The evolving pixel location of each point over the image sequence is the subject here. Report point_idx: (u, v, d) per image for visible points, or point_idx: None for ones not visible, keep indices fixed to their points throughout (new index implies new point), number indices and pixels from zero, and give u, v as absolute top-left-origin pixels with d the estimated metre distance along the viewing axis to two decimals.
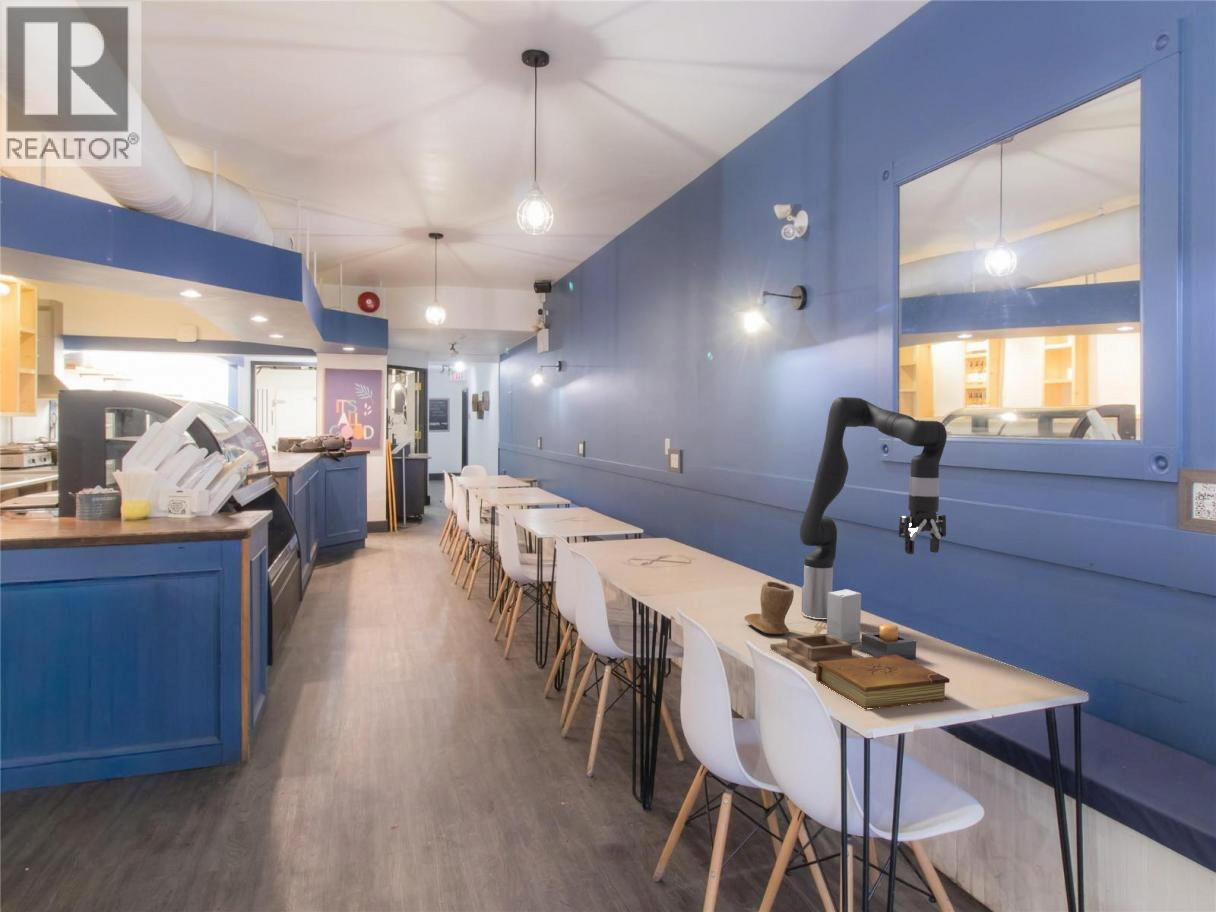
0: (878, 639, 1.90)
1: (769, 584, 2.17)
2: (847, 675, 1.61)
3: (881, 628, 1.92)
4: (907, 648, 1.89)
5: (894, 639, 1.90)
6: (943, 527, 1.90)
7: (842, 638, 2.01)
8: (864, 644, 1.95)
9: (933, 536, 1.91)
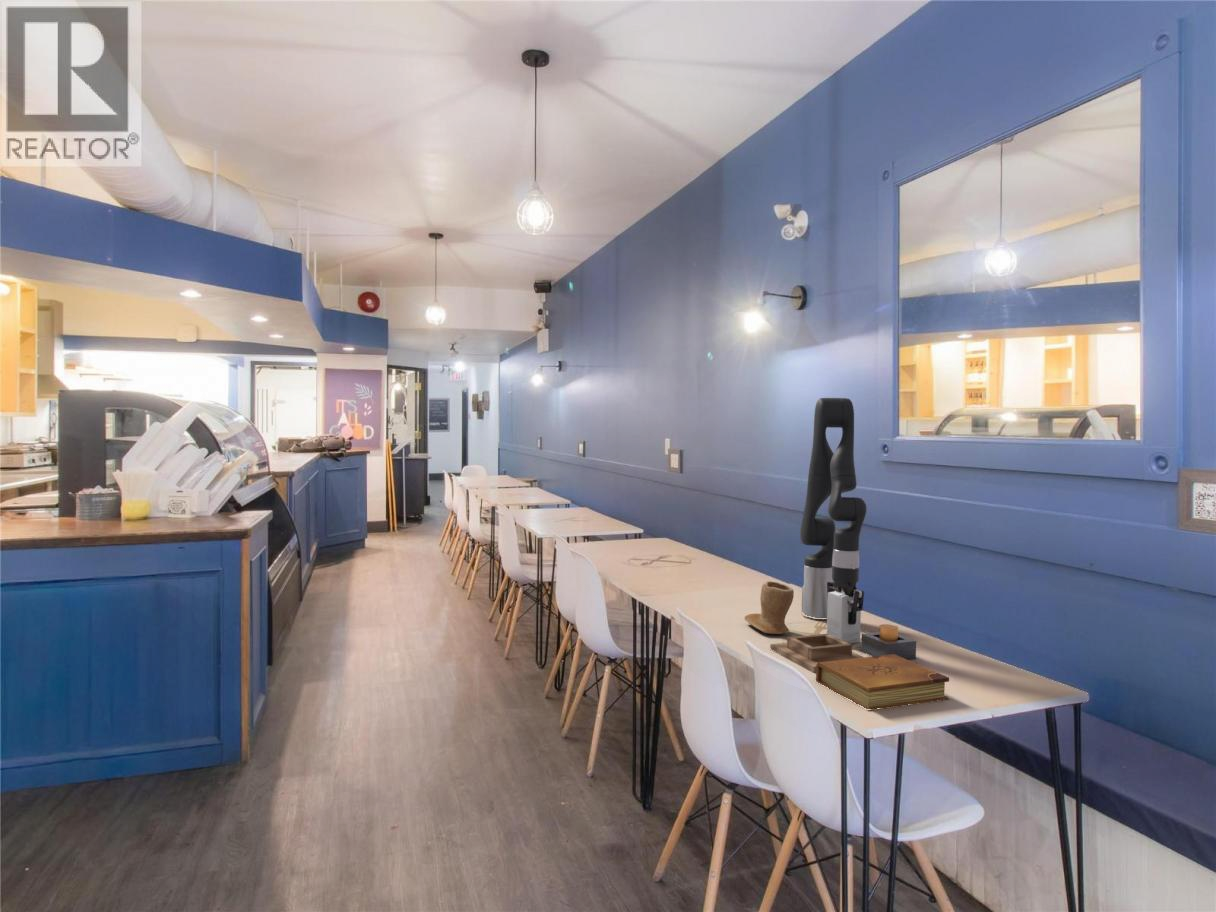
0: (878, 639, 1.90)
1: (769, 584, 2.17)
2: (849, 676, 1.61)
3: (881, 628, 1.92)
4: (907, 648, 1.89)
5: (894, 639, 1.90)
6: None
7: (842, 638, 2.01)
8: (864, 644, 1.95)
9: None
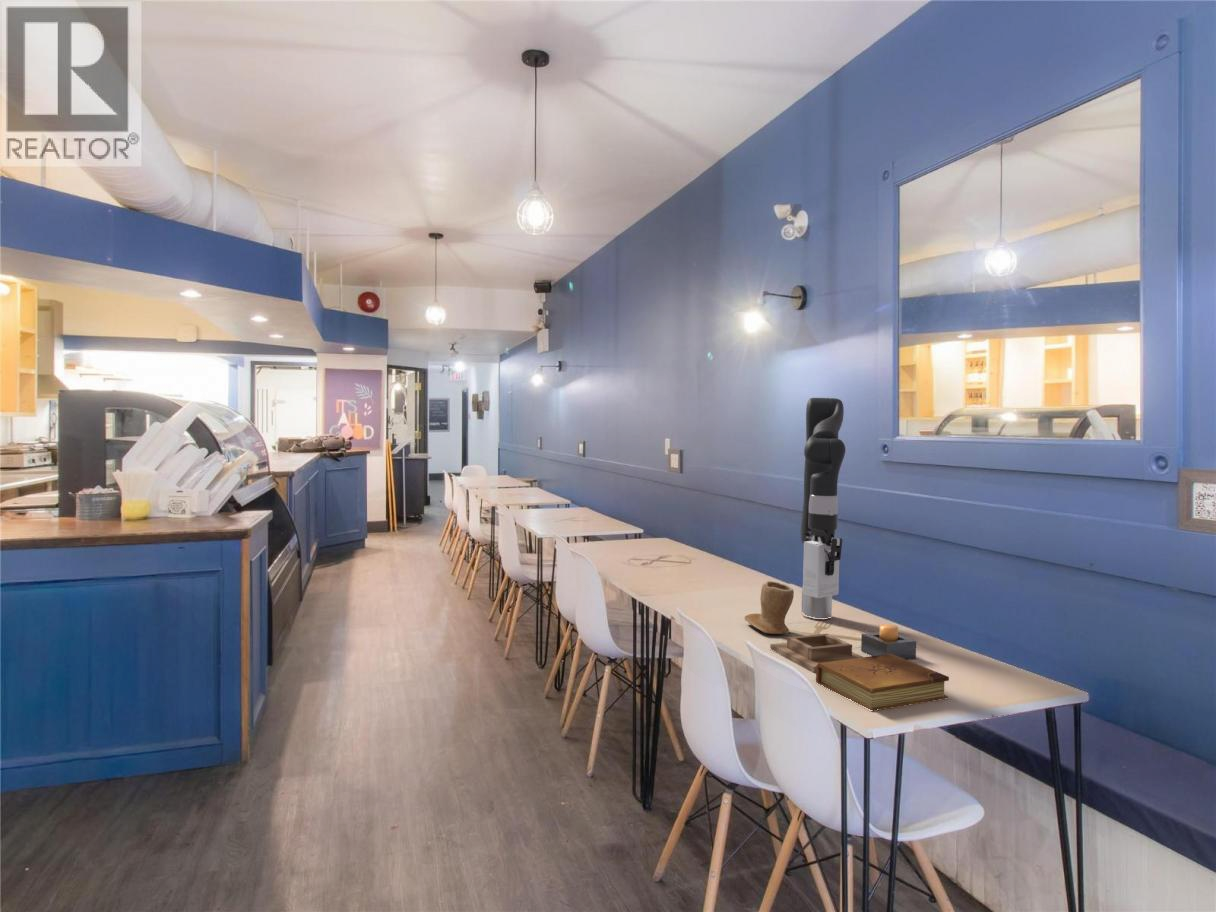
0: (878, 639, 1.90)
1: (769, 584, 2.17)
2: (850, 676, 1.60)
3: (881, 628, 1.92)
4: (907, 648, 1.89)
5: (894, 639, 1.90)
6: None
7: (819, 590, 1.85)
8: (864, 644, 1.95)
9: None
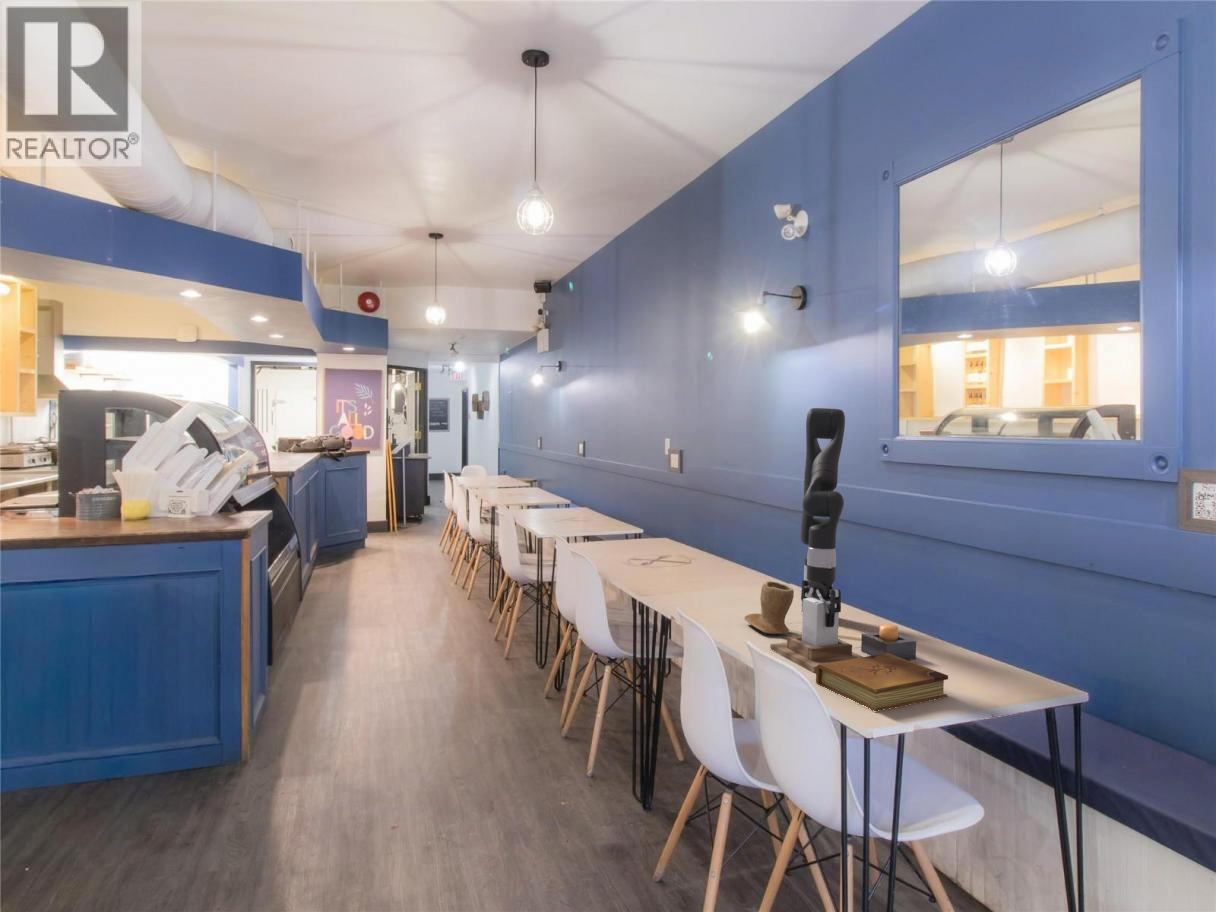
0: (878, 639, 1.90)
1: (769, 584, 2.17)
2: (853, 677, 1.60)
3: (881, 628, 1.92)
4: (907, 648, 1.89)
5: (894, 639, 1.90)
6: None
7: None
8: (864, 644, 1.95)
9: None
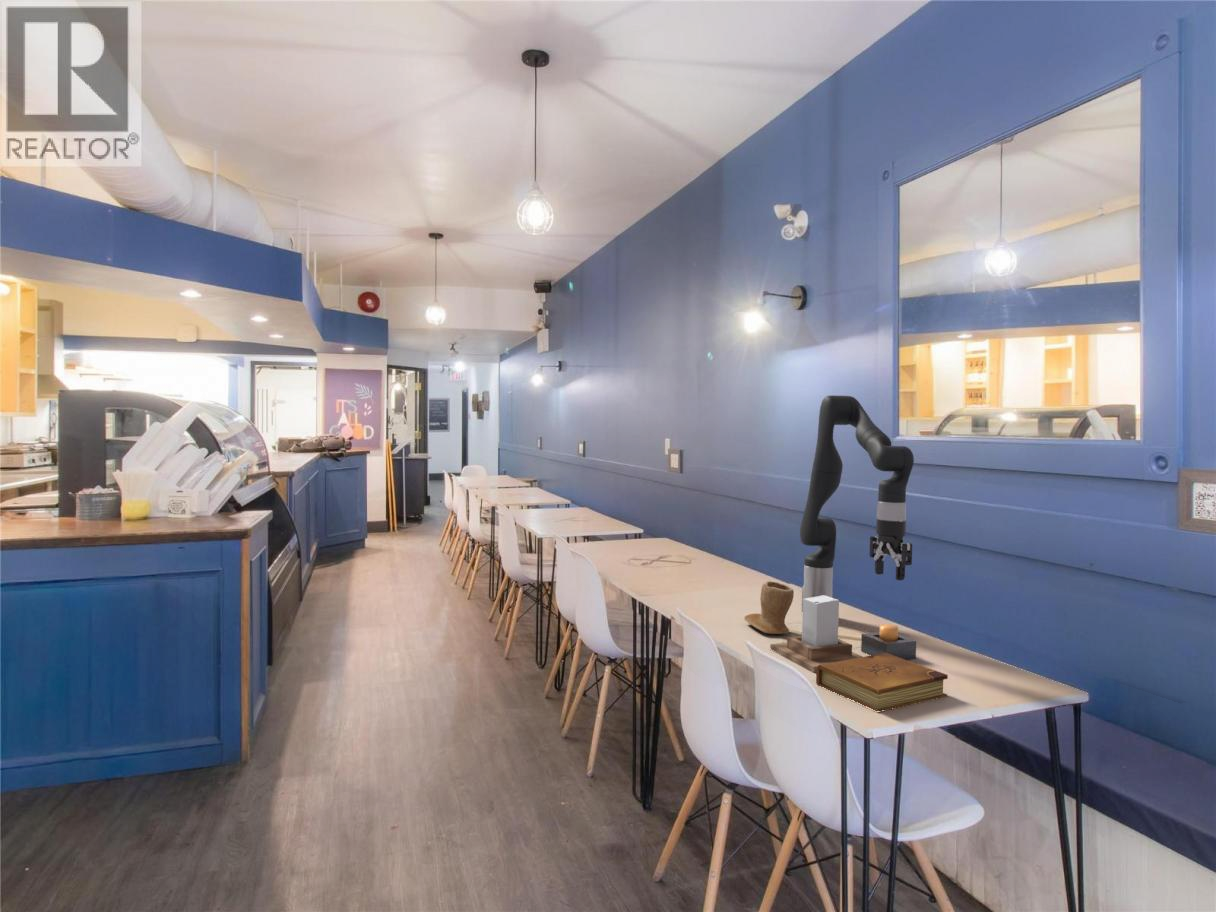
0: (878, 639, 1.90)
1: (769, 584, 2.17)
2: (854, 678, 1.59)
3: (881, 628, 1.92)
4: (907, 648, 1.89)
5: (894, 639, 1.90)
6: None
7: None
8: (864, 644, 1.95)
9: (879, 558, 1.95)
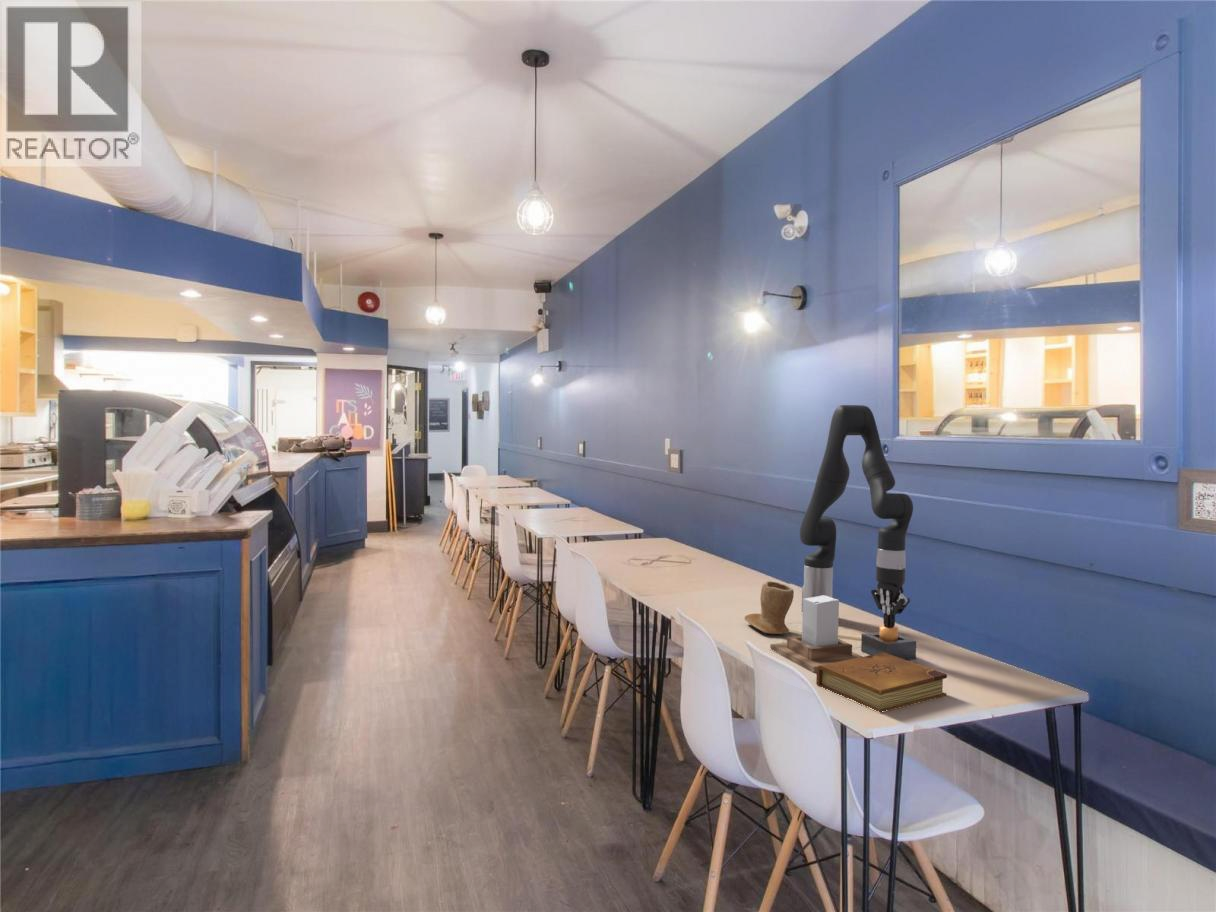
0: (878, 639, 1.90)
1: (769, 584, 2.17)
2: (855, 678, 1.59)
3: (881, 628, 1.92)
4: (907, 648, 1.89)
5: (894, 639, 1.90)
6: None
7: None
8: (864, 644, 1.95)
9: None
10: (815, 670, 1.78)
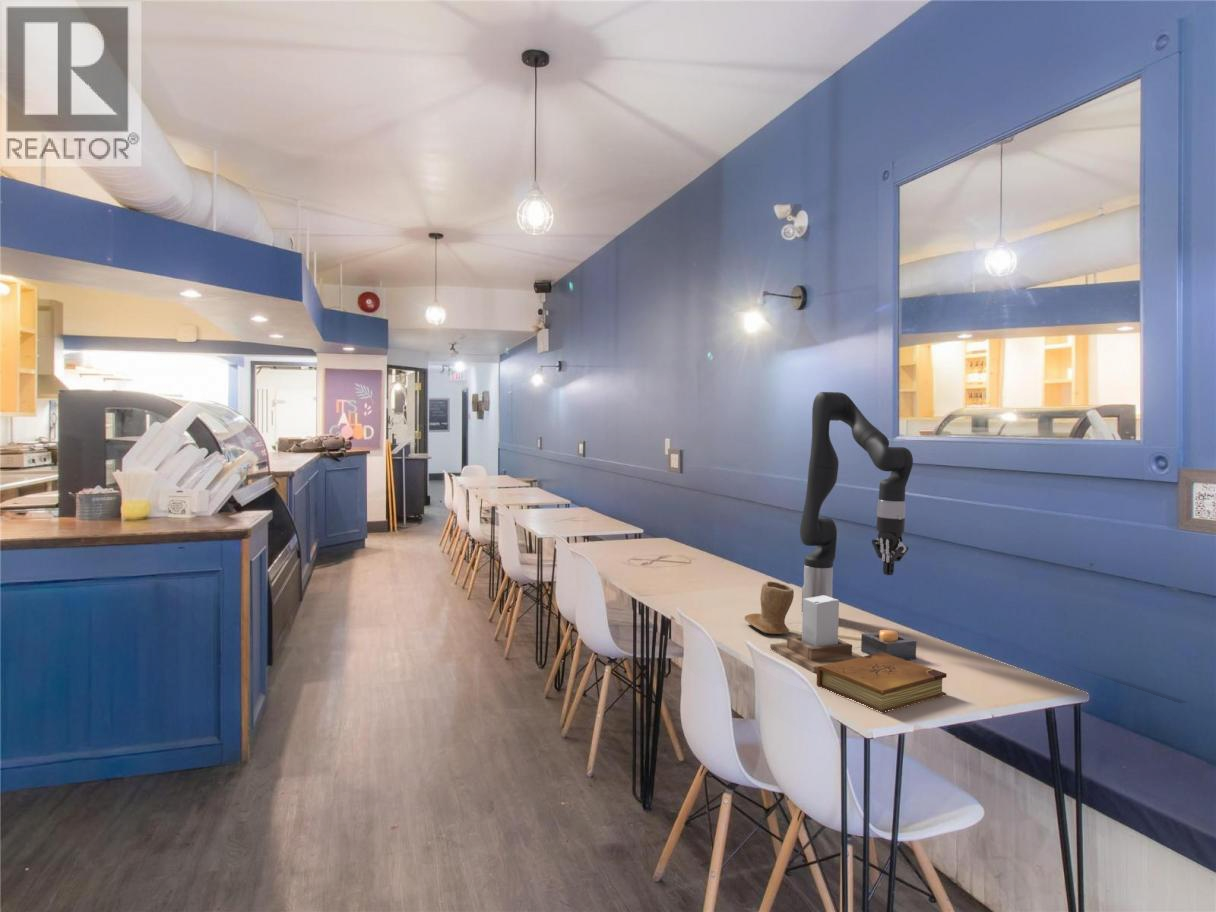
0: (878, 639, 1.90)
1: (769, 584, 2.17)
2: (857, 678, 1.59)
3: (881, 634, 1.92)
4: (907, 648, 1.89)
5: None
6: None
7: None
8: (864, 644, 1.95)
9: None
10: (815, 670, 1.78)
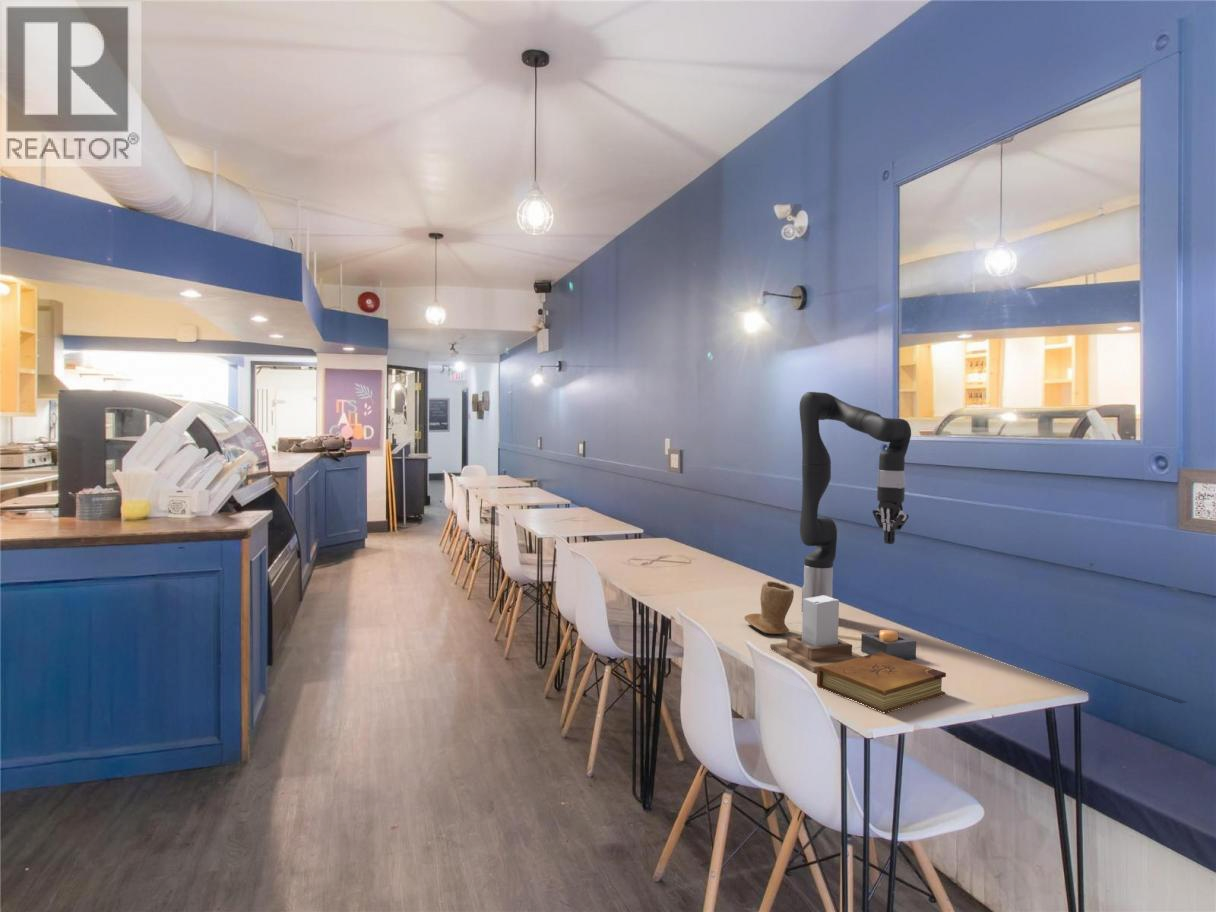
0: (878, 639, 1.90)
1: (769, 584, 2.17)
2: (858, 679, 1.59)
3: (881, 634, 1.92)
4: (907, 648, 1.89)
5: None
6: None
7: None
8: (864, 644, 1.95)
9: None
10: (815, 670, 1.78)
